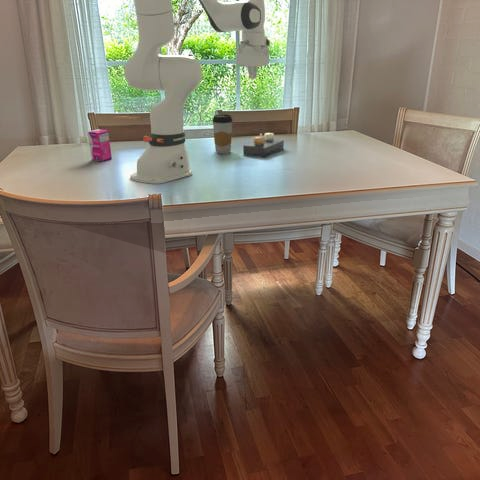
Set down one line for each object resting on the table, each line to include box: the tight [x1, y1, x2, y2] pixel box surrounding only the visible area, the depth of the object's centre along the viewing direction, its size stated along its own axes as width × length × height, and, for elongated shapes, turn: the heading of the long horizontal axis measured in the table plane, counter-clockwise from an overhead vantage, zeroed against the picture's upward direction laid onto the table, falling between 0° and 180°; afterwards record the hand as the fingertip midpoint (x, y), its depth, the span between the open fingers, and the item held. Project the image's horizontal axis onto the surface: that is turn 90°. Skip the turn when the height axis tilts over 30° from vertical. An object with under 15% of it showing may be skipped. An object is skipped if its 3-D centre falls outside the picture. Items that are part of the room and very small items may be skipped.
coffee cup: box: [211, 113, 234, 155], centre depth 186 cm, size 8×8×15 cm
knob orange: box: [253, 136, 264, 146], centre depth 184 cm, size 4×4×7 cm
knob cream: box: [263, 132, 275, 142], centre depth 191 cm, size 4×4×7 cm
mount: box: [242, 138, 285, 159], centre depth 188 cm, size 17×10×4 cm, turn 149°
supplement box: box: [87, 128, 113, 163], centre depth 176 cm, size 6×6×12 cm
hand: (252, 78), depth 180 cm, fingers closed
